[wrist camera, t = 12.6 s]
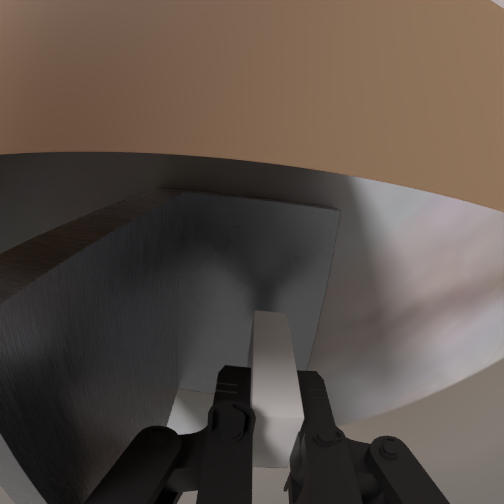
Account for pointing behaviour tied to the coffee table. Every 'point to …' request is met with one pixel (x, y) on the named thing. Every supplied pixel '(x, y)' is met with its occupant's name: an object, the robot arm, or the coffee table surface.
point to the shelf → (266, 85)
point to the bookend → (141, 322)
